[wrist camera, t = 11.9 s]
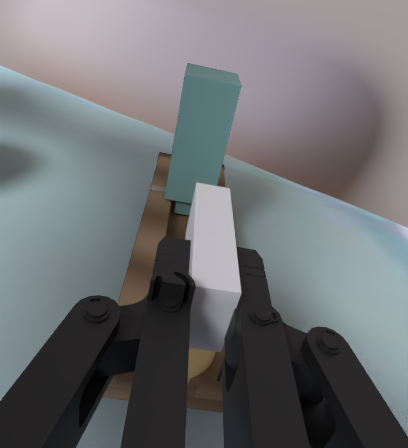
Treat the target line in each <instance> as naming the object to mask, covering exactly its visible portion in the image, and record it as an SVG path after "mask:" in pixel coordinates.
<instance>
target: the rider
mask: <svg viewBox="0 0 408 448" xmlns="http://www.w3.org/2000/svg"><path fill="white" fill-rule="evenodd" d="M240 90H241V83H240V80H239V77H238V74H236V73H231V72H227V71H222V70H217V69H213V68H208V67H203V66H199V65H194V64H190V63H188V64H187V68H186V71H185V76H184V82H183V89H182V94H181V101H180V107H179V113H178V119H177V126H176V132H175V137H174V143H173V149H172V156H171V162H170V168H169V174H168V180H167V186H166V192H165V198H164V199H169V200H174V201H176V203H175V210H174V213H178V214H184V215H190V210H191V206H192V201H193V196H194V191H195V186H196V182H197V183H203V184H208V185H214V186H217V183H218V179H219V175H220V171H221V167H222V163H223V159H224V155H225V151H226V146H227V143H228V139H229V135H230V131H231V126H232V122H233V118H234V114H235V110H236V106H237V102H238V97H239V94H240Z"/></svg>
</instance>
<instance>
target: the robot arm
mask: <svg viewBox="0 0 408 448" xmlns="http://www.w3.org/2000/svg"><path fill="white" fill-rule="evenodd" d="M224 344H225V355H224V358H223V361H222V364H221V367H220V370H219V372H218V375H217V380H216V381H219V382H220V379H221V376H222V398H223V427H224V448H408V437H407V435H406V433H405V432H404V430H403V429H402V427H401V426H400V424H399V422H398V421H397V419H396V418H395V416H394V415H393V413H392V412H391V410H390V408H389V407H388V405H387V404H386V402H385V401H384V399H383V398H382V396H381V394H380V393H379V391H378V390H377V388H376V387H375V385H374V383H373V382H372V380H371V379H370V377H369V376H368V374H367V373H366V371H365V369H364V368H363V366H362V365H361V363H360V362H359V360H358V359H357V357H356V355H355V354H354V352H353V351H352V349H351V348H350V346H349V344H348V343H347V342H346V341H345V339H344V338H343V337H342V336H341V335H339V334H338V333H337V332H335V331H334V330H331V329H329V328H326V327H315V328H312V329H311V330H310V331H309V332H308V333H304V332H302V331H300V330H297V329H295V328H292V327H290V326H288V325H286V324H285V323H284V322H282V319H281V317H280V314H279V313H278V312H277V311H276V310H275V309H274V308H273V307H272V305H271V300H270V295H269V290H268V285H267V280H266V275H265V271H264V265H263V259H262V258H261V257H260V255H259V254H258V253H257V251H256V250H252V249H246V248H239V247H236V240H235V231H234V222H233V213H232V204H231V195H230V188H225V187H219V186H214V185H208V184H203V183H197V182H196V186H195V191H194V196H193V201H192V206H191V210H190V215H189V220H188V225H187V229H186V236H185V239H179V238H173V237H167V236H165V237H164V238H163V239H162V240H161V241H160V242H159V243H158V246H157V251H156V257H155V262H154V268H153V273H152V278H151V280H150V286H149V292H148V294H147V295H146V297H145V298H143V299H142V300H141V301H139V302H136V303H134V304H129V305H122V306H119V305H118V304H117V303H116V302H115V301H114V300H112V299H111V298H109V297H105V296H99V295H97V296H89V297H87V298H84V299H82V300H80V301H79V302H78V303H77V304H76V305H75V306H74V307H73V308H72V310H71V311H70V312H69V313H68V315H67V316H66V317H65V319H64V320H63V321H62V322H61V324H60V325H59V326H58V328H57V329H56V330H55V331H54V333H53V334H52V335H51V337H50V338H49V339H48V340H47V342H46V343H45V344H44V346H43V347H42V348H41V349H40V351H39V352H38V353H37V355H36V356H35V357H34V358H33V360H32V361H31V362H30V364H29V365H28V366H27V367H26V369H25V370H24V371H23V373H22V374H21V375H20V376H19V378H18V379H17V380H16V382H15V383H14V384H13V385H12V387H11V388H10V389H9V391H8V392H7V393H6V394H5V396H4V397H3V398H2V400H1V401H0V448H76V446H77V444H78V442H79V440H80V438H81V437H82V435H83V433H84V431H85V429H86V427H87V425H88V423H89V421H90V419H91V418H92V416H93V414H94V412H95V410H96V408H97V406H98V404H99V402H100V400H101V399H102V397H103V395H104V393H105V391H106V389H107V387H108V385H109V383H110V381H111V380H112V378H113V375H118V374H123V373H129V372H134V376H133V382H132V387H131V393H130V398H129V404H128V409H127V415H126V420H125V426H124V431H123V437H122V442H121V448H185V428H186V405H187V382H188V360H189V348H193V349H200V350H208V351H215V352H221V351H222V348H223V345H224Z"/></svg>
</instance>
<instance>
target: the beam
mask: <svg viewBox="0 0 408 448" xmlns="http://www.w3.org/2000/svg"><path fill="white" fill-rule="evenodd" d="M171 156H172V154H166V153H161V152H159V155H158V161H157V166H156V169H155V173H154V177H153V180H152V184H151V187H150V191H149V194H148V198H147V202H146V205H145V209H144V212H143V216H142V219H141V223H140V226H139V230H138V234H137V237H136V241H135V244H134V248H133V251H132V255H131V258H130V262H129V266H128V269H127V273H126V276H125V280H124V283H123V287H122V291H121V294H120V298H119V301H118V305H119V306H122V305H129V304H134V303H136V302H139V301H141V300H142V299H143V298H145V297H146V295H147V294H148V292H149V286H150V280H151V278H152V273H153V268H154V262H155V257H156V251H157V246H158V243H159V242H160V241H161V240H162V239H163V238H164V237H165V236H167V237H173V238H179V239H185V236H186V229H187V225H188V220H189V215H184V214H178V213H174V210H175V203H176V201H174V200H169V199H164V198H165V192H166V186H167V180H168V174H169V168H170V162H171ZM224 169H225V168H224V164H222V167H221V171H220V175H219V179H218V183H217V186H219V187H225V180H224ZM224 355H225V344H224V345H223V348H222V351H221V352H215V351H208V350H200V349H193V348H189V360H188V382H187V405H186V408H194V409H202V410H210V411H218V412H223V398H222V376H221V379H220V382H219V381H216V380H217V375H218V372H219V370H220V367H221V364H222V361H223V358H224ZM133 376H134V372H129V373H123V374H118V375H113V378H112V380H111V381H110V383H109V385H108V387H107V389H106V391H105V393H104V395H103V397H106V398H114V399H122V400H129V398H130V393H131V387H132V382H133Z"/></svg>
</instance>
